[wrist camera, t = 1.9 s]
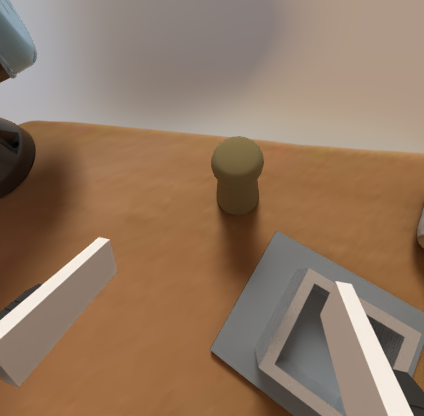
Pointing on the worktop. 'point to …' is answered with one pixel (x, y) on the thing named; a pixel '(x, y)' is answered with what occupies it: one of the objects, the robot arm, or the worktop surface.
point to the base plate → (297, 321)
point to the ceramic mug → (421, 230)
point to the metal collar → (283, 323)
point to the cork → (237, 174)
